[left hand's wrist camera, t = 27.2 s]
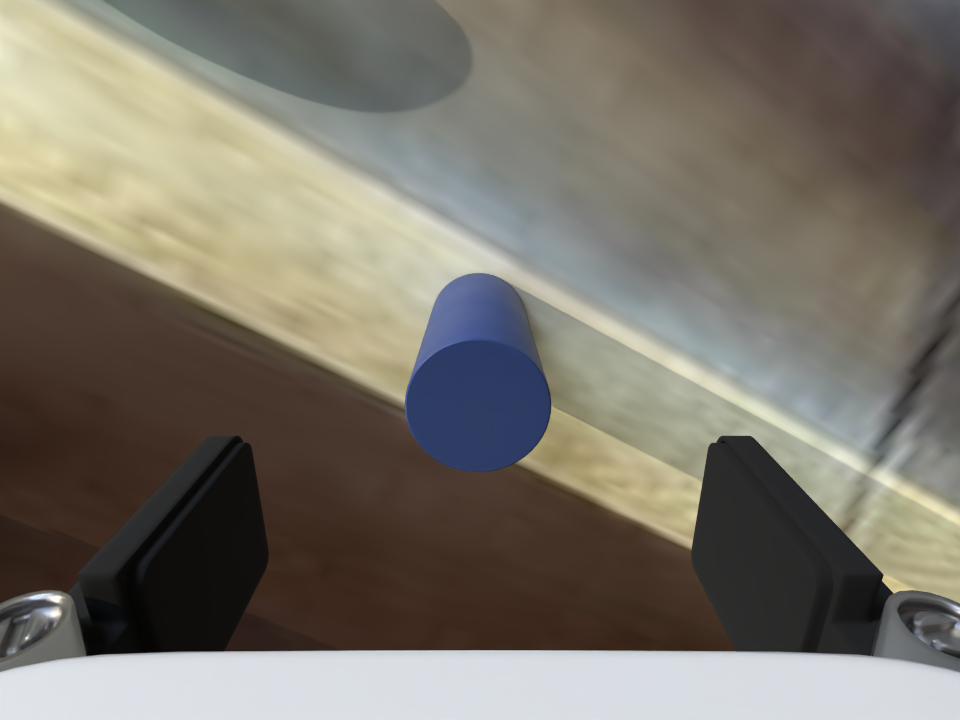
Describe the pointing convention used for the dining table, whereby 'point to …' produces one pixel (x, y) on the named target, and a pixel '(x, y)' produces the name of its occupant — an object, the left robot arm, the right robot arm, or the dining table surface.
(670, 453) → the dining table surface
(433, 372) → the canister
